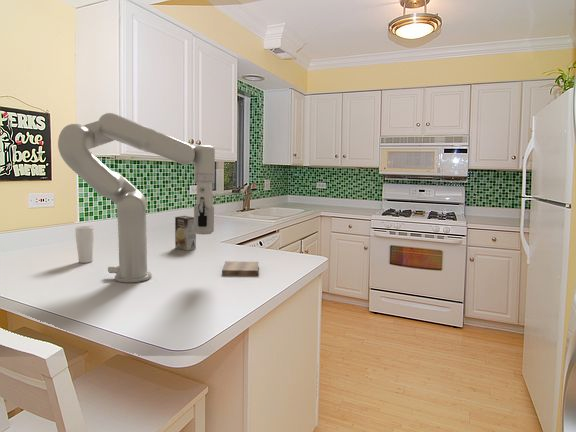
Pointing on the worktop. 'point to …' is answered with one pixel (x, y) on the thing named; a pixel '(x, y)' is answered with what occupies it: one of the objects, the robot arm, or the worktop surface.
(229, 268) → the walnut board
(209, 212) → the can
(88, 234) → the drinking glass
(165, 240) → the worktop surface
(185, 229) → the coffee box
